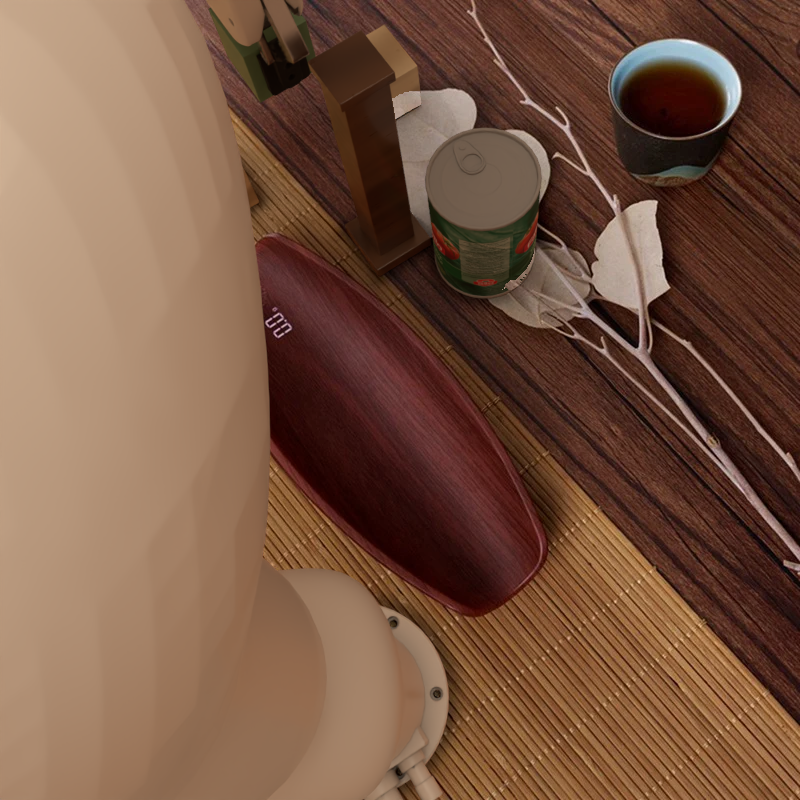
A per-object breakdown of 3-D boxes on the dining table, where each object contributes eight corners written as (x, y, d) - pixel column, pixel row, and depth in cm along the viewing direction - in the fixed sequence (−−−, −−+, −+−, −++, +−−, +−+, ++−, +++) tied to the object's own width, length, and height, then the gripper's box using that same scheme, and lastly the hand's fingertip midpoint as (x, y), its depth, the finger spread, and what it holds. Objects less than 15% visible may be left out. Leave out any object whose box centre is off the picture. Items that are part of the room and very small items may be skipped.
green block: (319, 68, 67) (306, 20, 62) (260, 103, 66) (242, 57, 62) (285, 22, 68) (269, -28, 64) (227, 56, 68) (207, 8, 63)
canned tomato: (554, 269, 72) (564, 194, 61) (465, 316, 71) (461, 249, 61) (502, 192, 74) (504, 108, 64) (416, 237, 74) (404, 160, 63)
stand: (431, 245, 73) (409, 73, 54) (379, 277, 73) (336, 117, 53) (398, 199, 75) (364, 17, 55) (346, 231, 74) (293, 59, 55)
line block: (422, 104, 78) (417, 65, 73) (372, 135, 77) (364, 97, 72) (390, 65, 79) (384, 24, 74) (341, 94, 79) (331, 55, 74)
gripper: (66, -226, 52) (172, 5, 69) (208, -31, 47) (284, 166, 64) (181, -288, 53) (257, -45, 70) (334, -103, 47) (376, 111, 65)
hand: (269, 54), depth 67 cm, fingers closed on green block, 5 cm apart
